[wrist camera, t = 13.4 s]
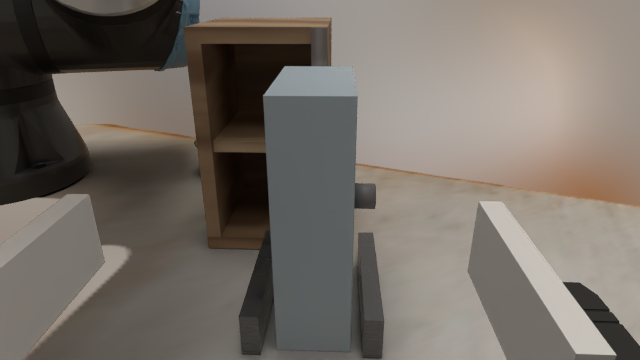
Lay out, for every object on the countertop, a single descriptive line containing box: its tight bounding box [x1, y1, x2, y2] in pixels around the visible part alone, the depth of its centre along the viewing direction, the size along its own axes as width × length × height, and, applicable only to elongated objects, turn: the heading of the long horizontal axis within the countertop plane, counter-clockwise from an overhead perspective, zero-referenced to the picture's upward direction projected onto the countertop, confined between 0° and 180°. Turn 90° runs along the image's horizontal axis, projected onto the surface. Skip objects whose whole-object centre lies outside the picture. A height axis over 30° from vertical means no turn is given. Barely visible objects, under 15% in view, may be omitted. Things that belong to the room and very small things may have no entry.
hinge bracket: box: [239, 231, 384, 358], centre depth 28 cm, size 9×8×2 cm
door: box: [263, 66, 376, 352], centre depth 25 cm, size 8×5×14 cm, turn 178°
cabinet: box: [183, 18, 331, 249], centre depth 35 cm, size 11×9×16 cm
